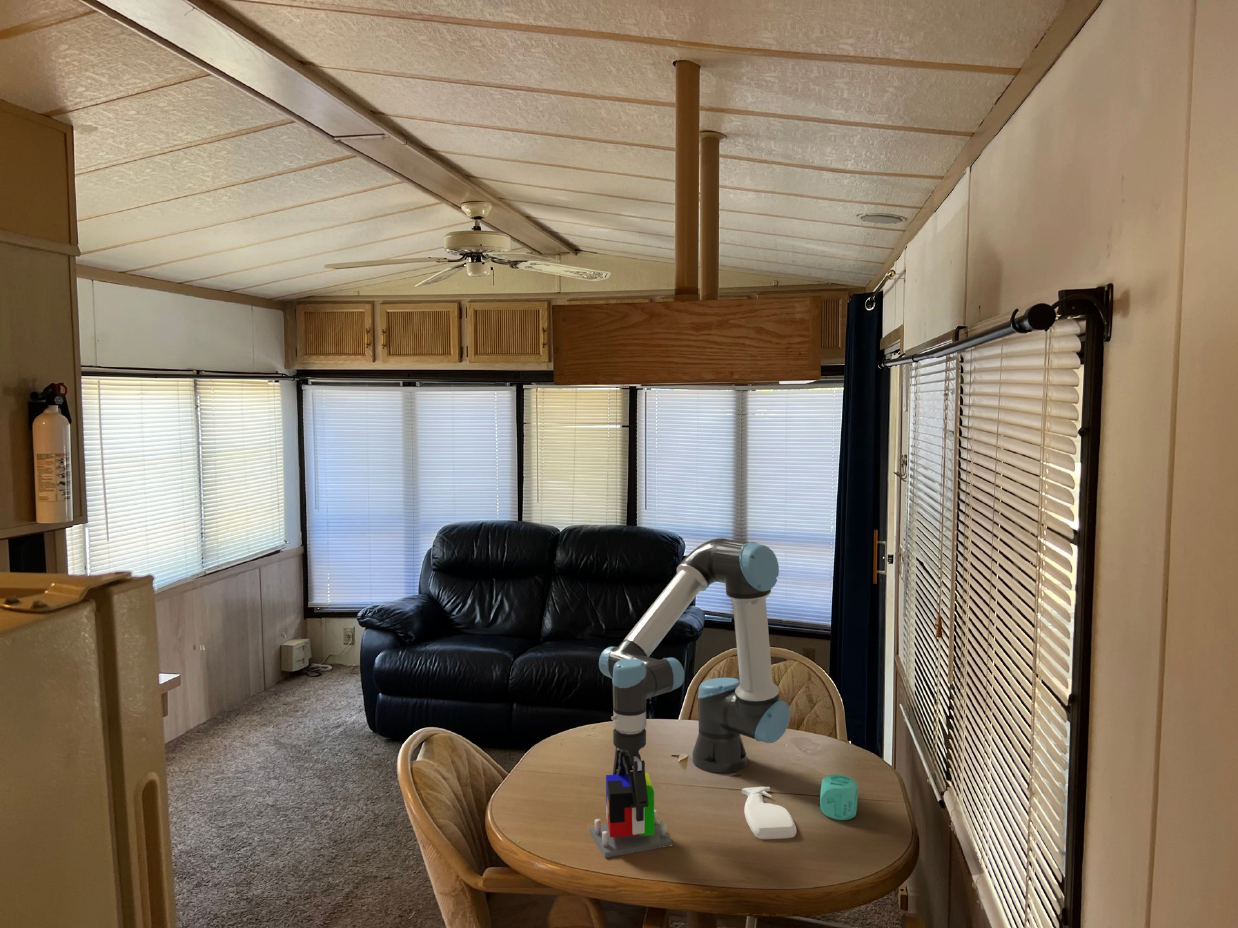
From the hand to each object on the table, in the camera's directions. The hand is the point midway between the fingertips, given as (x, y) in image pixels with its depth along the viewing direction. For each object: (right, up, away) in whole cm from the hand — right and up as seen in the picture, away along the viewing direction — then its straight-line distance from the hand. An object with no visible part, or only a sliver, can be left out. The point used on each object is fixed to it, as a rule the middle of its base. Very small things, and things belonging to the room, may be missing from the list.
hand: (630, 821), depth 199 cm
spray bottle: (+33, -4, +12) cm, 35 cm away
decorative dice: (+51, -3, +12) cm, 53 cm away
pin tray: (0, -4, 0) cm, 4 cm away
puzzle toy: (0, -1, 0) cm, 1 cm away
